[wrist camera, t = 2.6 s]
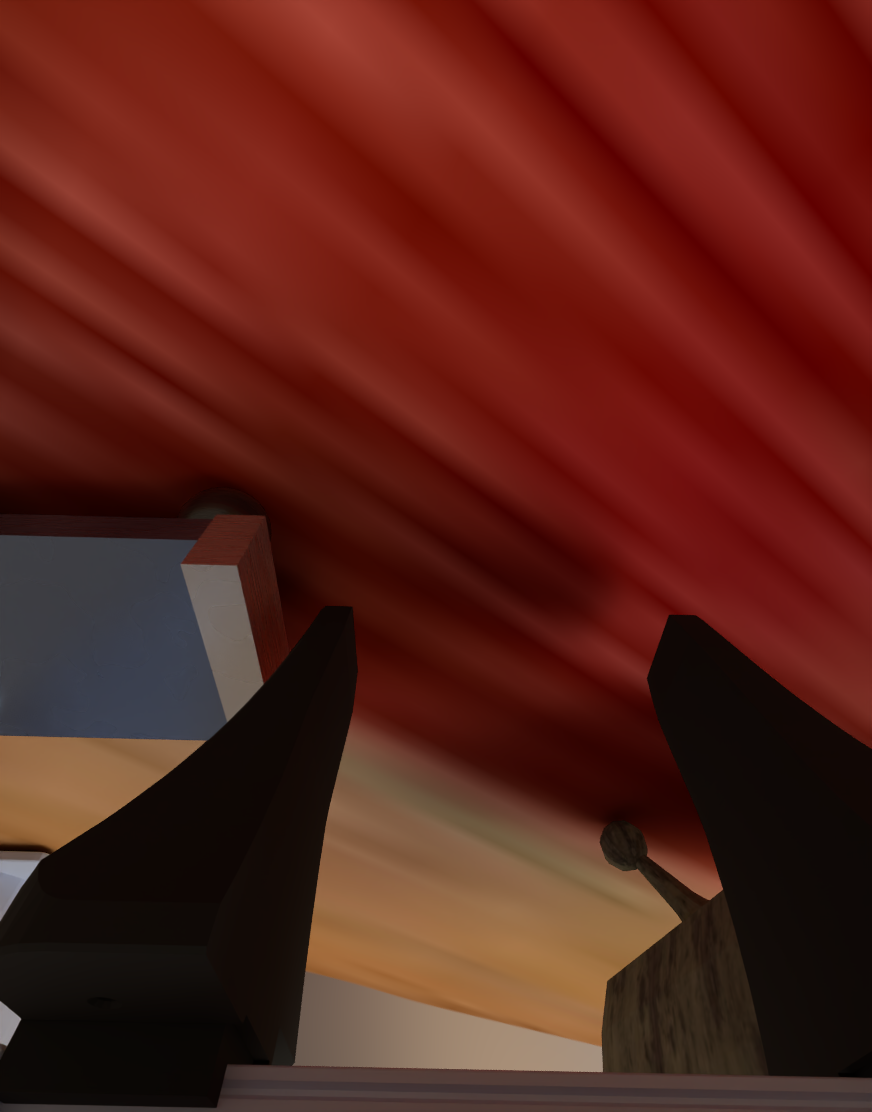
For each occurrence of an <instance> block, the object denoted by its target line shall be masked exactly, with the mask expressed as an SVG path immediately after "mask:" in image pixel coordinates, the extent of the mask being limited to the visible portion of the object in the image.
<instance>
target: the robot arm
mask: <svg viewBox="0 0 872 1112" xmlns="http://www.w3.org/2000/svg"><path fill="white" fill-rule="evenodd" d="M357 673H358V668H357V656H356V644H355V631H354V619H353V607H348V606H325V607H324V608H323V609H322V610H321V611H320V612H319V614H318V615H317V617H316V618H315V620H314V621H313V623H312V624H311V625H310V627H309V628H308V630H307V631H306V632H305V634H304V635H303V636H302V638H301V639H300V640H299V642H298V643H297V644H296V646H295V647H294V648H293V650H292V651H291V652H290V653H289V654H288V656H287V657H286V658H285V659H284V661H283V662H282V663H281V664H280V666H279V667H278V668H277V669H276V671H275V672H274V673H273V674H272V675H271V676H270V678H269V679H268V680H267V681H266V682H265V683H264V684H263V685H262V686H261V687H260V689H259V690H258V691H257V692H256V693H255V694H254V695H253V696H252V697H251V699H250V700H249V701H248V702H247V703H246V704H245V705H244V706H243V707H242V708H241V709H240V710H239V711H238V712H237V713H236V714H235V715H234V716H233V717H232V718H231V719H230V720H229V721H228V722H227V723H226V724H225V725H224V726H223V727H222V728H220V729H219V730H218V731H217V732H216V733H215V734H214V735H213V736H212V737H211V738H210V739H209V740H207V741H206V742H205V743H204V744H203V745H202V746H200V747H199V748H198V749H197V750H196V751H195V752H194V753H192V754H191V755H190V756H189V757H188V758H187V759H185V760H184V761H183V762H182V763H181V764H179V765H178V766H177V767H176V768H174V769H173V770H172V771H171V772H169V773H168V774H167V775H166V776H164V777H163V778H162V779H160V780H159V781H158V782H156V783H155V784H154V785H152V786H151V787H150V788H148V789H147V790H145V791H144V792H143V793H141V794H140V795H139V796H137V797H136V798H135V799H133V800H132V801H131V802H129V803H128V804H127V805H125V806H124V807H122V808H121V809H120V810H118V811H117V812H115V813H114V814H112V815H111V816H109V817H108V818H106V819H105V820H104V821H102V822H100V823H99V824H97V825H96V826H94V827H93V828H91V829H89V830H88V831H86V832H85V833H83V834H82V835H80V836H78V837H77V838H75V839H74V840H72V841H71V842H69V843H67V844H66V845H64V846H63V847H61V848H60V849H58V850H56V851H55V852H53V853H51V854H48V853H45V852H27V851H0V1112H872V749H871V748H869V747H868V746H866V745H864V744H863V743H861V742H860V741H858V740H857V739H855V738H854V737H852V736H851V735H849V734H848V733H846V732H845V731H843V730H842V729H840V728H839V727H837V726H836V725H835V724H833V723H832V722H830V721H829V720H827V719H826V718H825V717H823V716H822V715H821V714H819V713H818V712H817V711H815V710H814V709H813V708H811V707H810V706H808V705H807V704H806V703H804V702H803V701H802V700H800V699H799V698H798V697H796V696H795V695H794V694H793V693H791V692H790V691H789V690H787V689H786V688H785V687H783V686H782V685H781V684H780V683H778V682H777V681H776V680H775V679H773V678H772V677H771V676H770V675H768V674H767V673H766V672H765V671H764V670H762V669H761V668H760V667H759V666H757V665H756V664H755V663H754V662H753V661H751V660H750V659H749V658H748V657H746V656H745V655H744V654H743V653H742V652H740V651H739V650H738V649H737V648H736V647H734V646H733V645H732V644H731V643H730V642H729V641H727V640H726V639H725V638H724V637H723V636H721V635H720V634H719V633H718V632H716V631H715V630H714V629H713V628H712V627H710V626H709V625H708V624H707V623H705V622H704V621H703V620H701V619H700V618H699V617H697V616H696V615H669V617H668V619H667V622H666V625H665V628H664V631H663V634H662V637H661V639H660V642H659V645H658V648H657V651H656V654H655V657H654V659H653V662H652V665H651V668H650V671H649V674H648V677H647V681H648V685H649V689H650V692H651V696H652V700H653V704H654V707H655V711H656V714H657V717H658V720H659V723H660V725H661V728H662V730H663V733H664V735H665V737H666V740H667V742H668V745H669V747H670V749H671V752H672V754H673V756H674V759H675V761H676V763H677V766H678V768H679V770H680V773H681V775H682V777H683V780H684V782H685V784H686V787H687V789H688V791H689V793H690V796H691V798H692V800H693V803H694V805H695V807H696V810H697V812H698V815H699V817H700V820H701V823H702V825H703V828H704V830H705V833H706V836H707V839H708V842H709V845H710V849H711V852H712V855H713V858H714V861H715V864H716V868H717V871H718V874H719V877H720V880H721V884H722V887H723V891H724V894H725V898H726V901H727V905H728V908H729V912H730V915H731V918H732V922H733V925H734V929H735V933H736V937H737V940H738V944H739V948H740V952H741V956H742V960H743V964H744V968H745V972H746V975H747V979H748V983H749V987H750V991H751V996H752V1000H753V1005H754V1009H755V1014H756V1018H757V1022H758V1027H759V1031H760V1036H761V1040H762V1044H763V1049H764V1054H765V1059H766V1064H767V1069H768V1074H769V1076H752V1075H705V1074H657V1073H609V1072H562V1071H561V1072H560V1071H513V1070H467V1069H417V1068H372V1067H324V1066H322V1067H321V1066H292V1065H293V1064H294V1063H295V1055H296V1054H295V1053H296V1044H297V1036H298V1028H299V1020H300V1011H301V1002H302V994H303V985H304V977H305V969H306V962H307V954H308V946H309V938H310V931H311V923H312V915H313V908H314V901H315V894H316V887H317V880H318V873H319V866H320V859H321V853H322V846H323V839H324V833H325V826H326V821H327V816H328V811H329V806H330V802H331V798H332V794H333V789H334V785H335V781H336V777H337V773H338V769H339V765H340V761H341V757H342V753H343V749H344V745H345V741H346V737H347V733H348V729H349V725H350V720H351V716H352V712H353V705H354V697H355V689H356V681H357Z"/></svg>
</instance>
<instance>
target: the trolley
mask: <svg viewBox="0 0 872 1112" xmlns="http://www.w3.org/2000/svg"><path fill="white" fill-rule="evenodd" d="M270 541H271V524H270V520H269V518H268V515H267V513H266V512H265V510H264V508H263V507H262V506H261V505H260V503H259V502H258V501H257V500H255V499H254V498H253V497H251V496H250V495H248V494H247V493H245V492H242V491H240V490H237V489H233V488H225V487H220V488H211V489H208V490H205V491H202V492H200V493H198V494H196V495H195V496H193V497H192V498H191V499H190V500H189V501H187V502H186V503H185V505H184V506H183V507H182V509H181V510H180V512H179V514H178V517H177V518H144V517H106V516H67V515H29V514H0V735H3V736H45V737H86V738H128V739H169V740H209V739H210V738H211V737H212V736H213V735H214V734H215V733H216V732H217V731H218V730H219V729H220V728H222V727H223V726H224V725H225V724H226V723H227V722H228V721H229V720H230V719H231V718H232V717H233V716H234V715H235V714H236V713H237V712H238V711H239V710H240V709H241V708H242V707H243V706H244V705H245V704H246V703H247V702H248V701H249V700H250V699H251V697H252V696H253V695H254V694H255V693H256V692H257V691H258V690H259V689H260V687H261V686H262V685H263V684H264V683H265V682H266V681H267V680H268V679H269V678H270V676H271V675H272V674H273V673H274V672H275V671H276V669H277V668H278V667H279V666H280V664H281V663H282V662H283V661H284V659H285V658H286V657H287V656H288V654H289V653H290V651H289V646H288V641H287V635H286V630H285V624H284V618H283V613H282V607H281V601H280V596H279V590H278V585H277V579H276V573H275V568H274V562H273V557H272V551H271V545H270Z"/></svg>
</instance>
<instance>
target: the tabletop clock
mask: <svg viewBox="0 0 872 1112" xmlns="http://www.w3.org/2000/svg"><path fill="white" fill-rule="evenodd" d="M600 844H601V847H602V850H603V853H604V856H605V859H606V860H607V861H608V862H609V864H611V865H613V866H615V867H617V868H618V869H620V870H622V871H630V870H636V869H637V868H638V870H639V871H640V872H641V873H642V874H643V875H644V876H645V878H646V879H647V880H648V881H649V882H650V883H651V884H652V886H653V887H654V888H655V889H656V890H657V891H658V892H659V894H660V895H661V896H662V897H663V898H664V899H665V900H666V902H667V903H668V904H669V905H670V906H671V907H672V908H673V910H674V911H675V912H676V913H677V915H678V916H679V918H680V919H681V921H682V923H680V924H679V925H678V926H677V927H675V928H674V929H673V930H672V931H670V932H669V933H668V934H666V935H665V936H664V937H663V938H661V939H660V940H659V941H658V942H656V943H655V944H654V945H653V946H651V947H650V948H649V949H647V950H646V951H645V952H644V953H642V954H641V955H640V956H639V957H637V958H636V959H635V960H634V961H632V962H631V963H630V964H628V965H627V966H626V967H625V968H623V969H622V970H621V971H620V972H618V973H617V974H616V975H615V976H613V977H612V978H611V979H609V980H608V981H607V989H606V998H605V1007H604V1016H603V1025H602V1055H603V1072H609V1073H657V1074H705V1075H752V1076H769V1074H768V1069H767V1064H766V1059H765V1054H764V1049H763V1044H762V1040H761V1036H760V1031H759V1027H758V1022H757V1018H756V1014H755V1009H754V1005H753V1000H752V996H751V991H750V987H749V983H748V979H747V975H746V972H745V968H744V964H743V960H742V956H741V952H740V948H739V944H738V940H737V937H736V933H735V929H734V925H733V922H732V918H731V915H730V912H729V908H728V905H727V901H726V898H725V894H724V891H723V890H722V891H721V892H720V893H718V894H717V895H716V896H715V897H713V898H712V899H711V900H707V899H705V898H703V897H701V896H700V895H698V894H696V893H694V892H693V891H691V890H690V889H689V888H688V887H686V886H685V885H684V884H682V883H681V882H680V881H678V880H677V879H676V878H675V877H673V876H672V875H671V874H669V873H668V872H667V871H665V870H664V869H663V868H661V867H660V866H659V865H658V864H656V863H655V862H654V861H652V860H651V859H650V858H648V857H647V853H648V851H647V845H646V842H645V839H644V836H643V834H642V832H641V831H640V830H639V829H638V828H637V827H635V826H634V825H632V824H630V823H628V822H626V821H624V820H622V821H613V822H611V823H610V824H609V825H608V826H606V827H605V828H604V829H603V832H602V835H601V838H600Z"/></svg>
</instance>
